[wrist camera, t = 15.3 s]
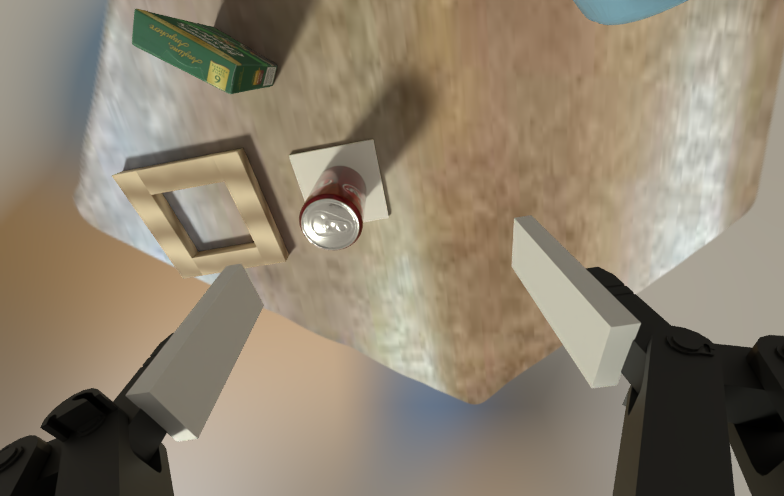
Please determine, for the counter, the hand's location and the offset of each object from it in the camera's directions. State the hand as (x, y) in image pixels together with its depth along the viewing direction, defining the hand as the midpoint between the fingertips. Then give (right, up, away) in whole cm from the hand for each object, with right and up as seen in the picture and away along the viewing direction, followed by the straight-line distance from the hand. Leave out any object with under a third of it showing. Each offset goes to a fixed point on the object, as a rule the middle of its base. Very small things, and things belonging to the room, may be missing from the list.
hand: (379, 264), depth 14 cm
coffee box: (-17, +24, +21) cm, 36 cm away
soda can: (-7, +10, +29) cm, 32 cm away
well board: (-27, +6, +32) cm, 42 cm away
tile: (-7, +10, +30) cm, 32 cm away
